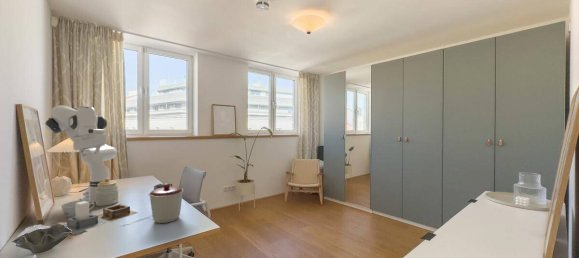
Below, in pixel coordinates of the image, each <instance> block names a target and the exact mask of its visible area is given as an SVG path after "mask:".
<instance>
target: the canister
mask: <svg viewBox="0 0 579 258" xmlns="http://www.w3.org/2000/svg"><path fill="white" fill-rule="evenodd" d="M163 184H164V185H163V187H162V188H158V189H155V190H154V189H153V190H152V191H150V192H149V193H148V196H149V200H150V206H151V207H150V208H151V213H152V218H153V221H154V222H155V223H157V224H169V223H173V222H175V221H176V220H178V218H179V217H180V214H181V208H182V202H183V201H182V199H183V193H184V192H185V191H184V189H183V188H181V187H180V186H172V187H170V184H171V183H163Z"/></svg>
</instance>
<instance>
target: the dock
mask: <svg viewBox="0 0 579 258" xmlns="http://www.w3.org/2000/svg"><path fill="white" fill-rule="evenodd" d="M104 224H108V222H106V221H104V220H101V219H99V217H98V216H96V215H95V214H92V213H90V212H89V218H87V219H83V220H80V221H77V220H76V216H75V217H68V218H66V224H63V225H64V226H66V227H68V228H69V229H71V230H72V236H76V235H75V234H77V235H79V234H78V233H80V234H83V233H85V232H87V231H88V230H89V229H92V228H95V227H99V226H102V225H104Z"/></svg>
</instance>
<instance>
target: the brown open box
mask: <svg viewBox="0 0 579 258" xmlns="http://www.w3.org/2000/svg"><path fill="white" fill-rule="evenodd" d="M135 214H139V212H138V211H133V210H131V206H129V205H126V204H121V203H120V204H115V205H112V206H109V207H105V208H102V213H99V214H97V215H96V216H98V219H99V218H100V219H102V220H106V221H108V222H114V221H117V220H120V219H124V218H127V217H130V216H132V215H133V216H134V215H135Z"/></svg>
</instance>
